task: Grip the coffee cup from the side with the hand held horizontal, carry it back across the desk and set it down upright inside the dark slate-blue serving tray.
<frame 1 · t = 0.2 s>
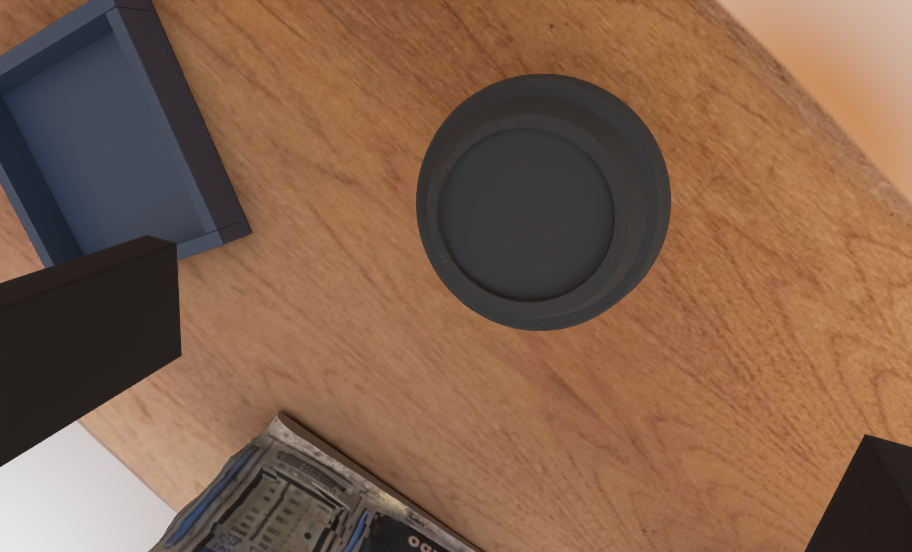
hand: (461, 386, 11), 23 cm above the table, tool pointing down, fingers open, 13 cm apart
tray: (120, 157, 41), on the table
coffee cup: (571, 160, 32), on the table
radio: (385, 506, 44), on the table
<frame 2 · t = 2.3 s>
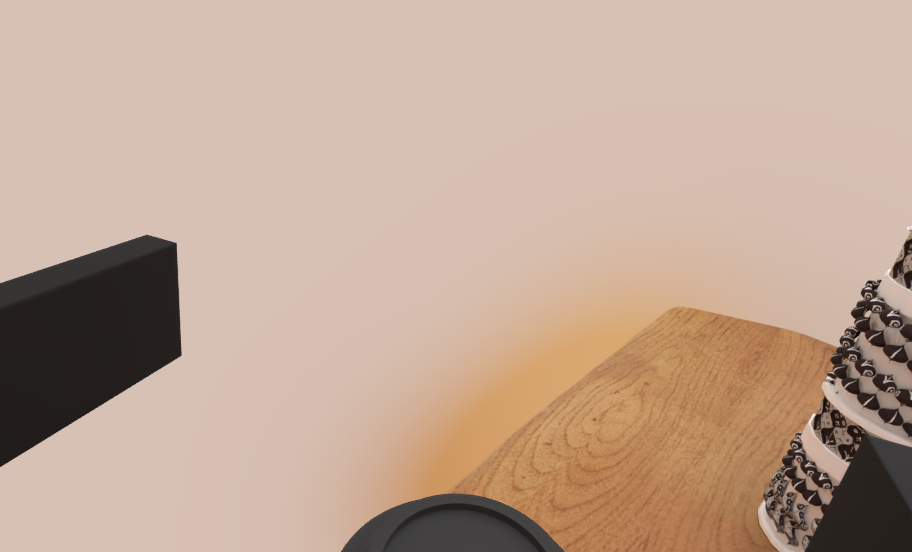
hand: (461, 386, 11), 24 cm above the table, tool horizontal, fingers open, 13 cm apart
white patterned cylinder: (815, 541, 43), on the table
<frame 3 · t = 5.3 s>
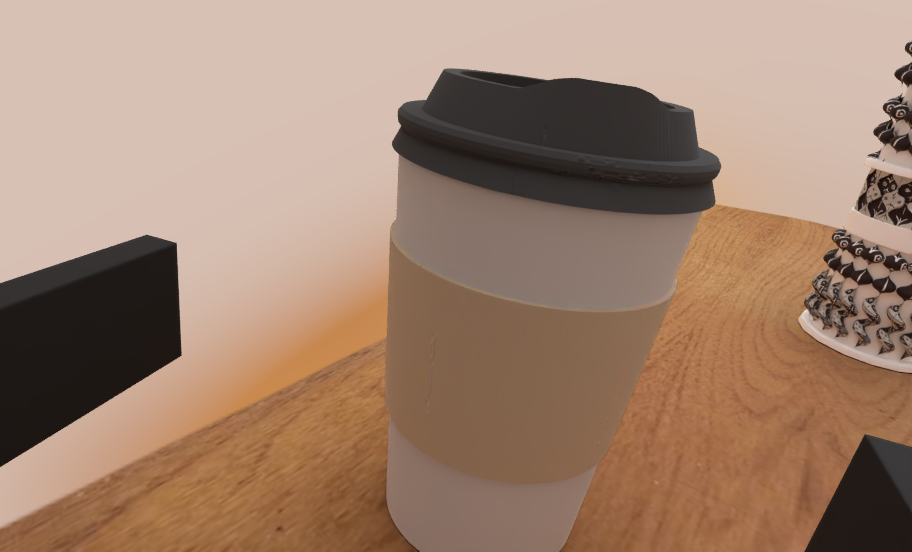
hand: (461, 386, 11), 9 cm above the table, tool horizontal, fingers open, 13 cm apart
coffee cup: (478, 500, 21), on the table
white patterned cylinder: (861, 342, 41), on the table
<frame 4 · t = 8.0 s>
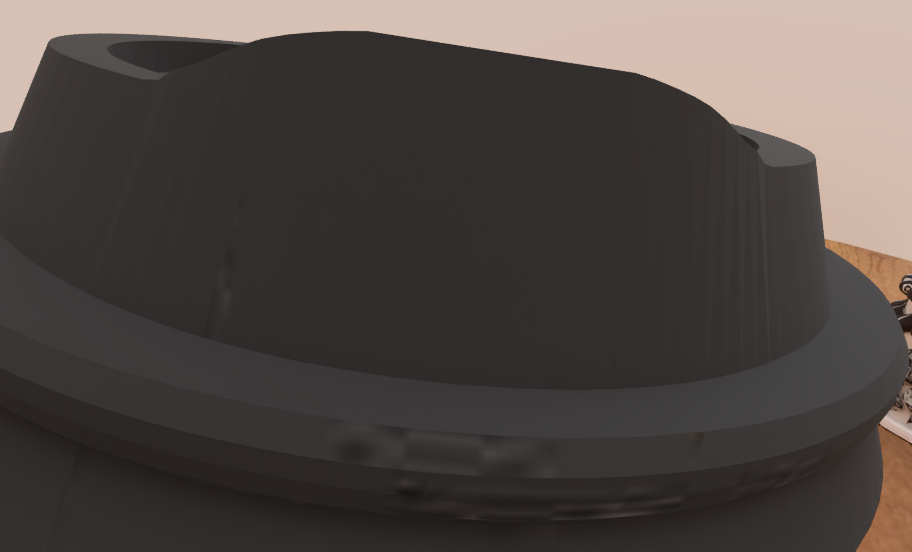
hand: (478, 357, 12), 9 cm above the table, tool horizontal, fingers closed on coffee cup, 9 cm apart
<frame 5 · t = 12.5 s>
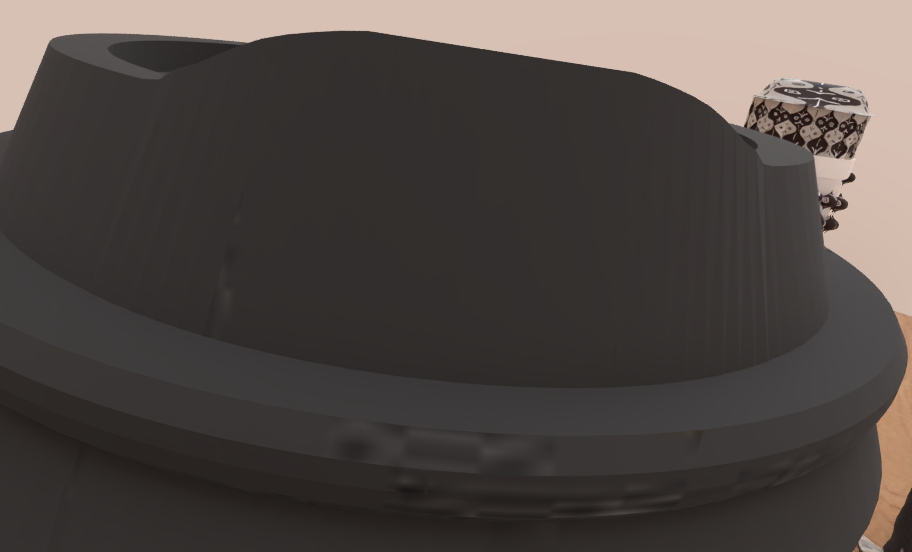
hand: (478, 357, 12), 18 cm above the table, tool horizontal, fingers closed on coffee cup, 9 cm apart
white patterned cylinder: (706, 382, 50), on the table
when the fingers open (10 cm above the table, at t = 17.2 s): coffee cup stays where it is, resting on tray.
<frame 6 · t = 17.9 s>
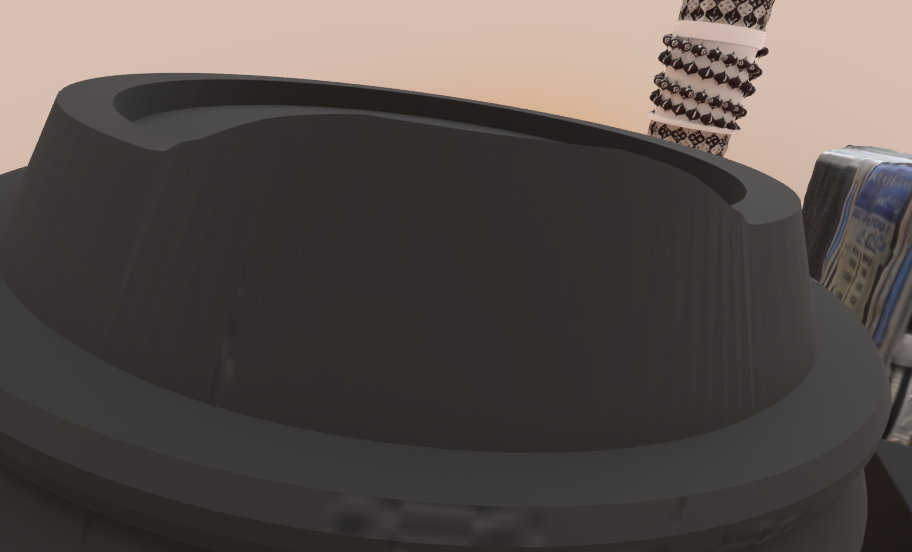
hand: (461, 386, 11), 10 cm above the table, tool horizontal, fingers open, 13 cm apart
radio: (809, 396, 34), on the table
white patterned cylinder: (656, 240, 60), on the table
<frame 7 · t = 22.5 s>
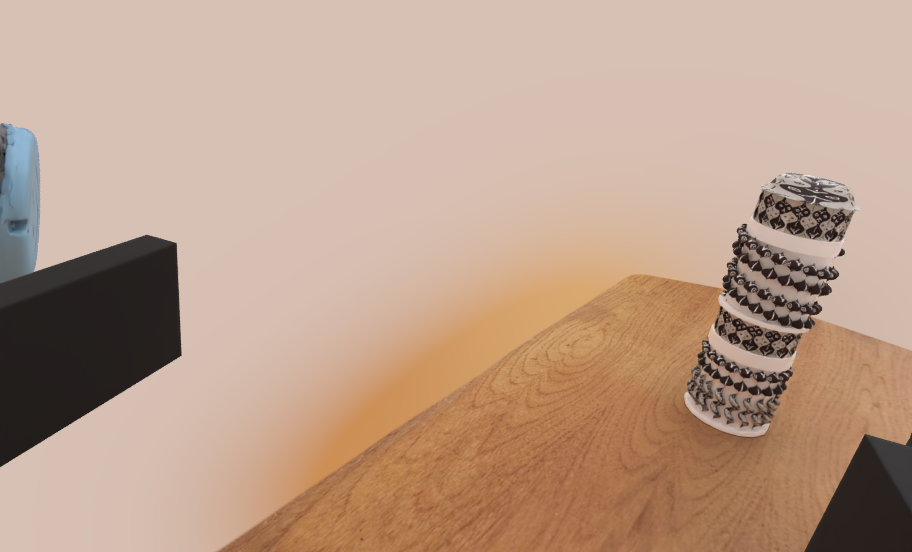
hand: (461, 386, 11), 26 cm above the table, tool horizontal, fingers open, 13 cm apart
white patterned cylinder: (724, 412, 60), on the table
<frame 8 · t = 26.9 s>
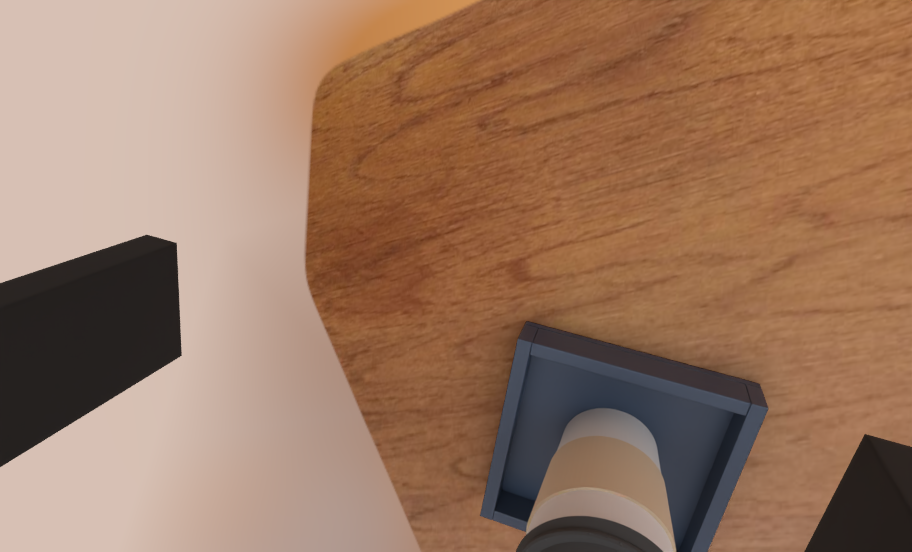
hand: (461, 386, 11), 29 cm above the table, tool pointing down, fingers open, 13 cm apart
tray: (609, 442, 43), on the table
coffee cup: (609, 446, 42), resting on tray
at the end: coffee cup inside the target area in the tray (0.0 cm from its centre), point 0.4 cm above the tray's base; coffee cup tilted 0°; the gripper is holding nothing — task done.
